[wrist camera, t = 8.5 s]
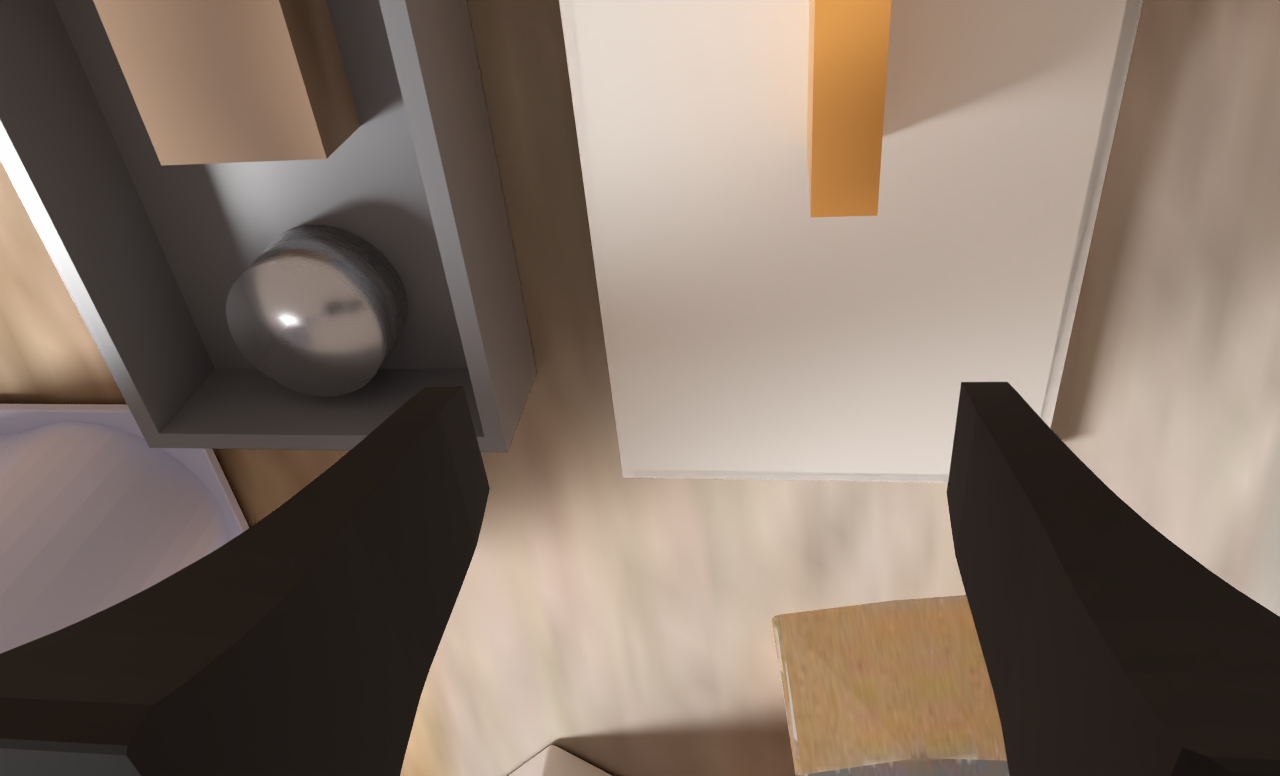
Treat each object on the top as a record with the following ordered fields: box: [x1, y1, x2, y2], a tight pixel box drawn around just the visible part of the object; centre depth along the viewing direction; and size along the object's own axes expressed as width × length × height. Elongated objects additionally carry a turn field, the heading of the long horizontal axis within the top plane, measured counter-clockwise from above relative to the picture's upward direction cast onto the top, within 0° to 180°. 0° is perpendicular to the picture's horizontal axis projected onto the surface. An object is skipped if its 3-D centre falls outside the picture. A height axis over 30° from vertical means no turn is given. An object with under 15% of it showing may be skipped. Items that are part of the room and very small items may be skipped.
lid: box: [559, 0, 1143, 483], centre depth 19 cm, size 11×17×5 cm, turn 5°
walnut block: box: [93, 0, 360, 166], centre depth 20 cm, size 4×4×2 cm
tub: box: [0, 0, 537, 452], centre depth 21 cm, size 10×14×4 cm
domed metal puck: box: [226, 225, 408, 396], centre depth 24 cm, size 4×4×2 cm
